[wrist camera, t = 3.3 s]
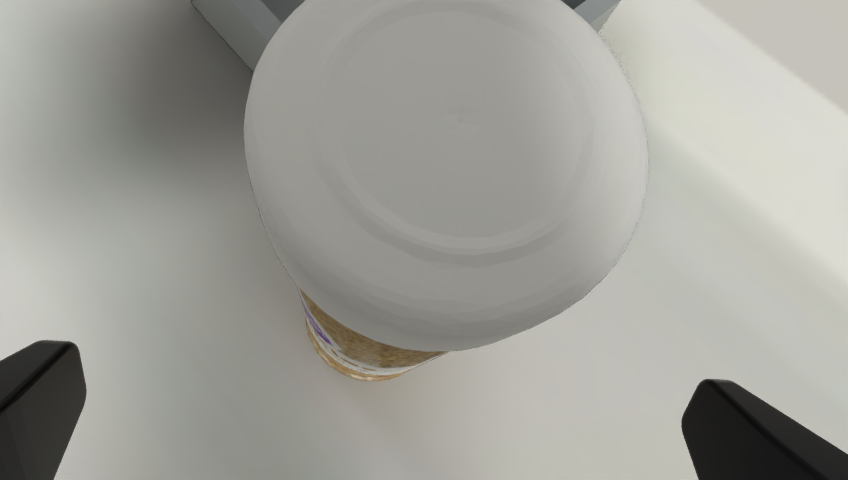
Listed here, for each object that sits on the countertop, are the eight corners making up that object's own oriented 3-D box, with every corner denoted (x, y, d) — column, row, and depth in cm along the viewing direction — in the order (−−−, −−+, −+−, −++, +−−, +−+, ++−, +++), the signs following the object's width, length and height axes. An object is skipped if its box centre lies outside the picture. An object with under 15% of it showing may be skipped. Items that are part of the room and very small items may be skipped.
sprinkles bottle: (277, 311, 18) (132, 86, 5) (377, 223, 19) (456, -123, 7) (372, 414, 17) (471, 444, 5) (468, 316, 19) (743, 137, 6)
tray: (382, 215, 19) (391, 176, 16) (191, 3, 21) (164, -73, 17) (579, 57, 23) (621, -2, 19) (405, -117, 24) (416, -200, 21)
